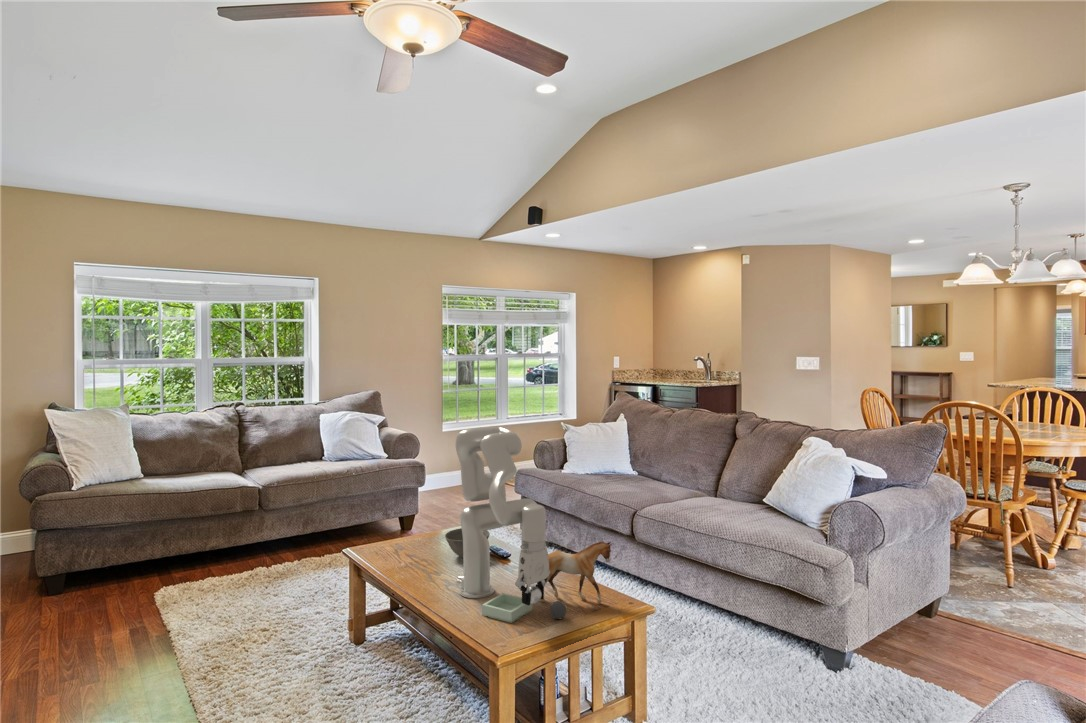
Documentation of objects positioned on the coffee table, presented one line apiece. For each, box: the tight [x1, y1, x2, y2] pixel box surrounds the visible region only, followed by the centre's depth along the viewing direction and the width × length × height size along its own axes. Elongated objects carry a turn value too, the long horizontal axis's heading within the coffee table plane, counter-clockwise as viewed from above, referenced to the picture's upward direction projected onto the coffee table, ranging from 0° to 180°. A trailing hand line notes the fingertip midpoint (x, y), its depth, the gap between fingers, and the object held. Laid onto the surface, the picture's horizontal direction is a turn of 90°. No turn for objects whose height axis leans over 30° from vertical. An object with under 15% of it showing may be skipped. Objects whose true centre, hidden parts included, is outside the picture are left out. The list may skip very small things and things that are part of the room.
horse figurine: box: [539, 541, 613, 605], centre depth 227 cm, size 31×8×21 cm, turn 81°
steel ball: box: [529, 584, 542, 605], centre depth 204 cm, size 6×6×6 cm
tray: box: [481, 592, 533, 624], centre depth 217 cm, size 12×12×4 cm
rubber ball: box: [549, 600, 568, 620], centre depth 212 cm, size 6×6×6 cm
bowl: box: [444, 527, 490, 559], centre depth 275 cm, size 19×19×10 cm
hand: (532, 600), depth 204 cm, fingers closed on steel ball, 5 cm apart
